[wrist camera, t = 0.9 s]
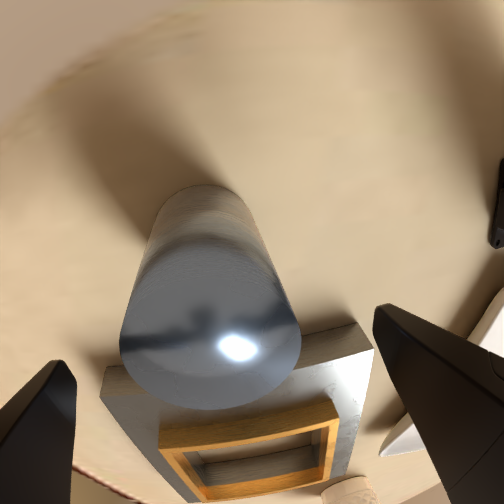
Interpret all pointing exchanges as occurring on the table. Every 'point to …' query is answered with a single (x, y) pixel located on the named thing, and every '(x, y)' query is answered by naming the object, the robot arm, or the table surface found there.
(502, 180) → the robot arm
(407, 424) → the salad plate
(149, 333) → the can
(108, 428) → the table surface
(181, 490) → the grey and gold frame
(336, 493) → the white cup
